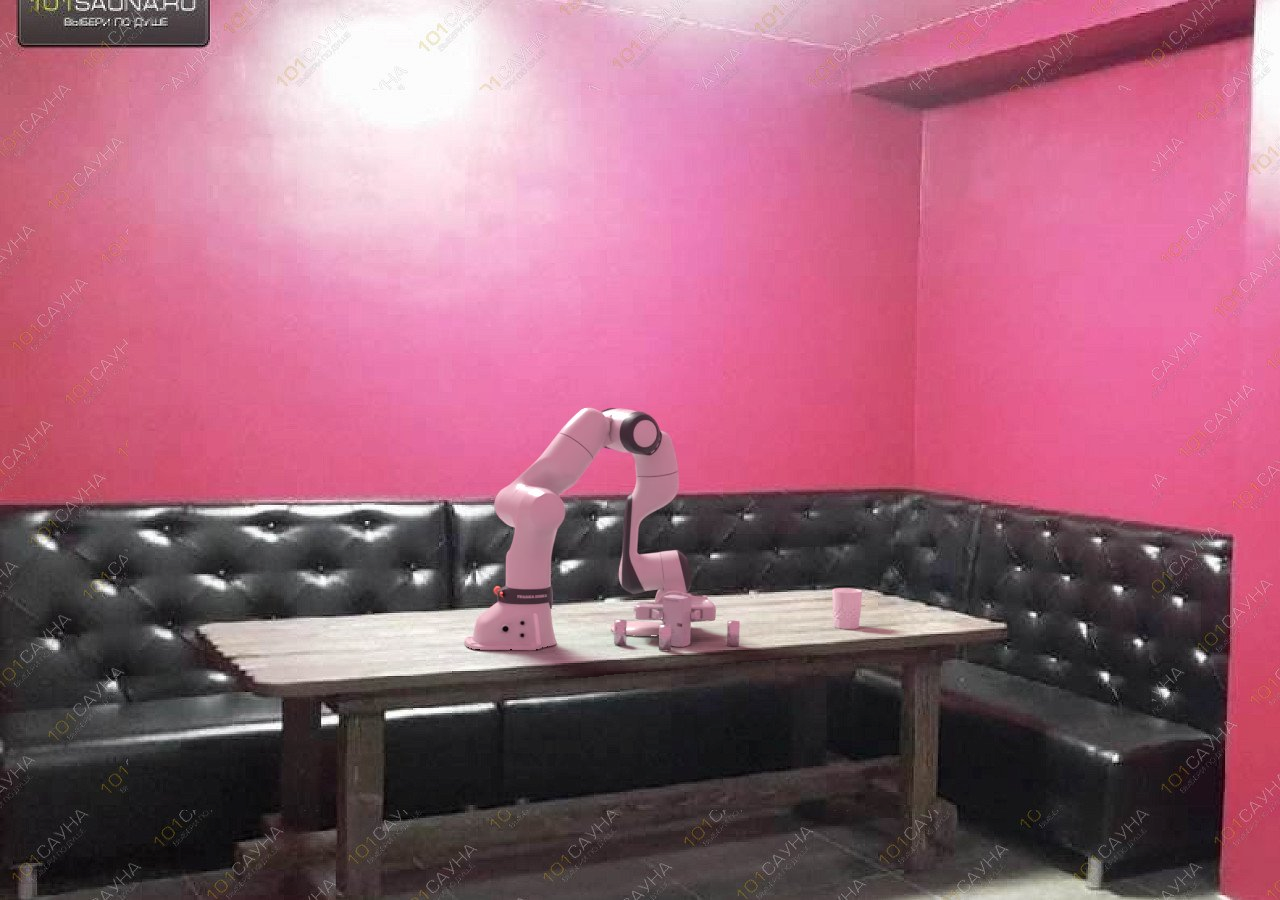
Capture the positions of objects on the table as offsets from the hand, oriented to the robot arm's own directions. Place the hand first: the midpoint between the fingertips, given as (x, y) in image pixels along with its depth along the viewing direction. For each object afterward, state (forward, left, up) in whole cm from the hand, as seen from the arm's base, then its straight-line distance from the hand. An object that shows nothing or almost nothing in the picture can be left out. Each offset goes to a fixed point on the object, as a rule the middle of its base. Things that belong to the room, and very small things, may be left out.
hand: (677, 616), depth 338 cm
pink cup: (+52, +18, -7) cm, 56 cm away
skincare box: (0, +1, -7) cm, 7 cm away
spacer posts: (0, 0, -7) cm, 7 cm away
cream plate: (-4, +21, -7) cm, 22 cm away
